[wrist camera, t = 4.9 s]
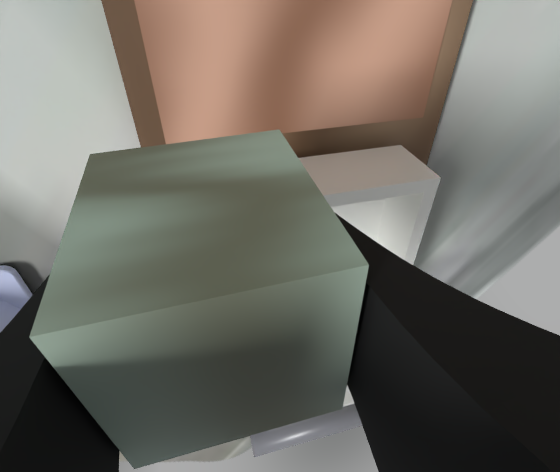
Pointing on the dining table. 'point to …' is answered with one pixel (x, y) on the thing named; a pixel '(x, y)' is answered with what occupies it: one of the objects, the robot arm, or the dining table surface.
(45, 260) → the dining table surface
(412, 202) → the white open box
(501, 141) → the dining table surface
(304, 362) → the block
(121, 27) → the board
